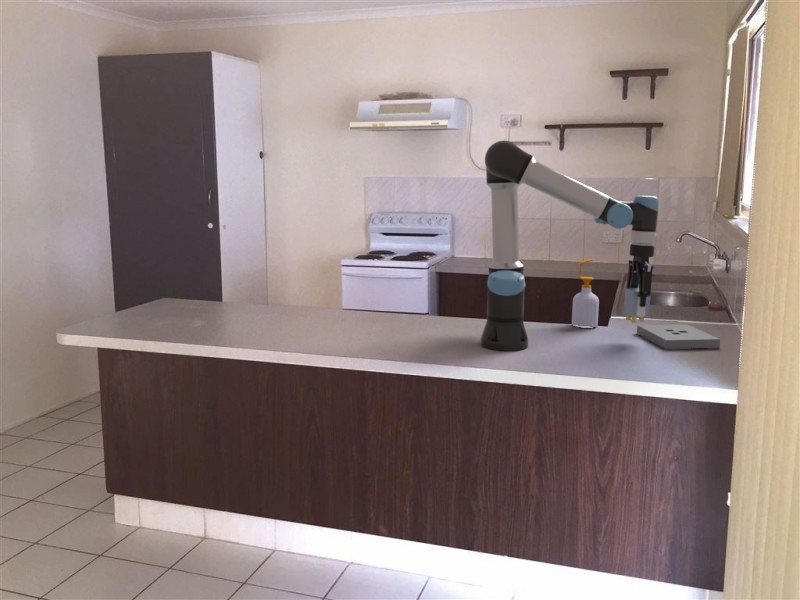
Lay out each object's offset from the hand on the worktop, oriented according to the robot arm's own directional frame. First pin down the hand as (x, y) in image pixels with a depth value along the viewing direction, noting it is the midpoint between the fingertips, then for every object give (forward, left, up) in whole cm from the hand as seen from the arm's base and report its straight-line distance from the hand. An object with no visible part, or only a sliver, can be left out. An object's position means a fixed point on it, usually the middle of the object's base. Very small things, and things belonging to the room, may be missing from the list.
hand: (635, 313), depth 241 cm
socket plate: (+15, 0, -9) cm, 17 cm away
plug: (0, 0, -2) cm, 2 cm away
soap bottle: (-8, +24, -9) cm, 27 cm away
